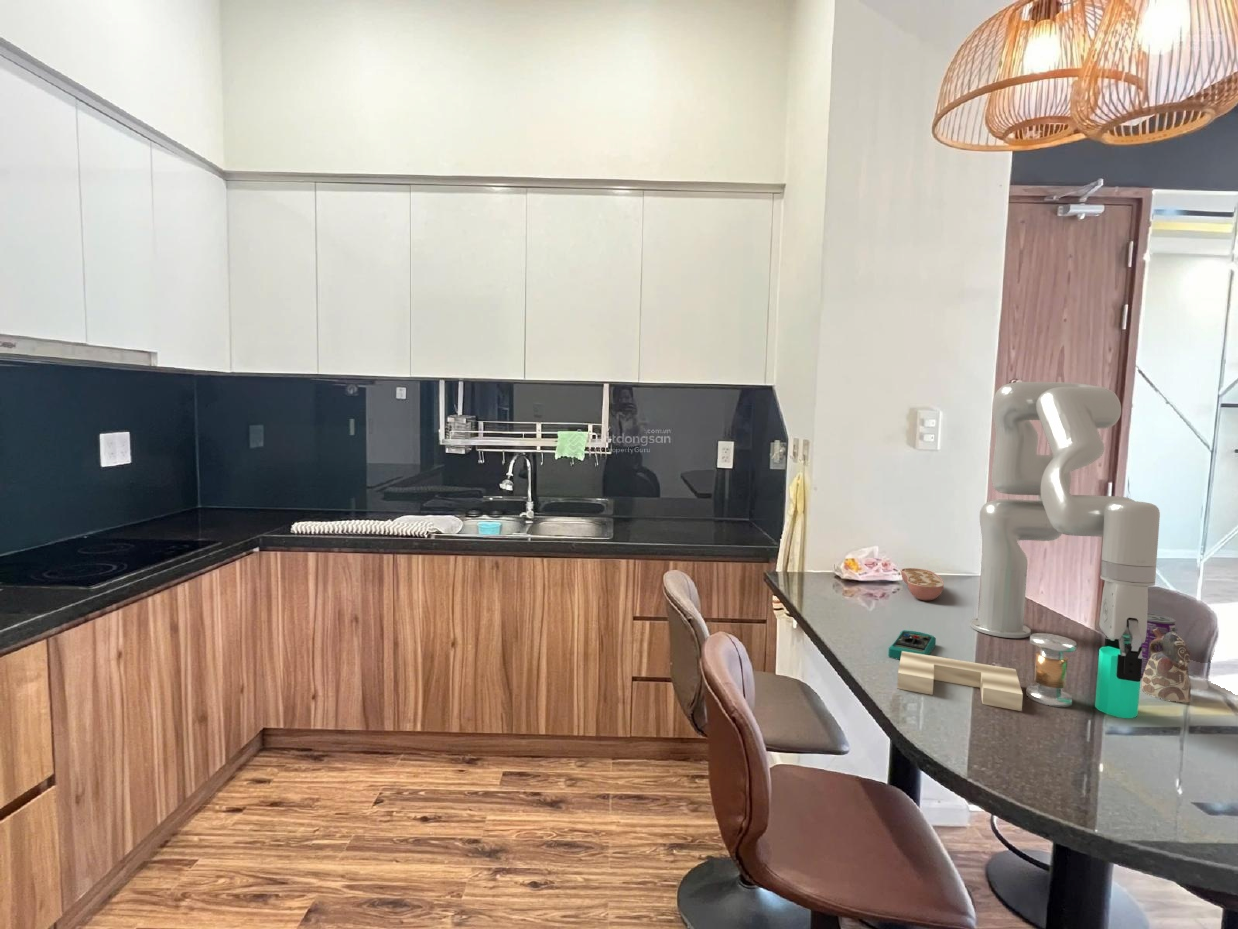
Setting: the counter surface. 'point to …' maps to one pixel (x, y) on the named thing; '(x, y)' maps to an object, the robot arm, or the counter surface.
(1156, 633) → the figurine
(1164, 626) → the beverage can
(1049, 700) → the bobbin post
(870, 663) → the counter surface
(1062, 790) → the counter surface
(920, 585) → the pink elongated rounded piece
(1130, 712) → the candle
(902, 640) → the digital multimeter
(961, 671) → the notched board
